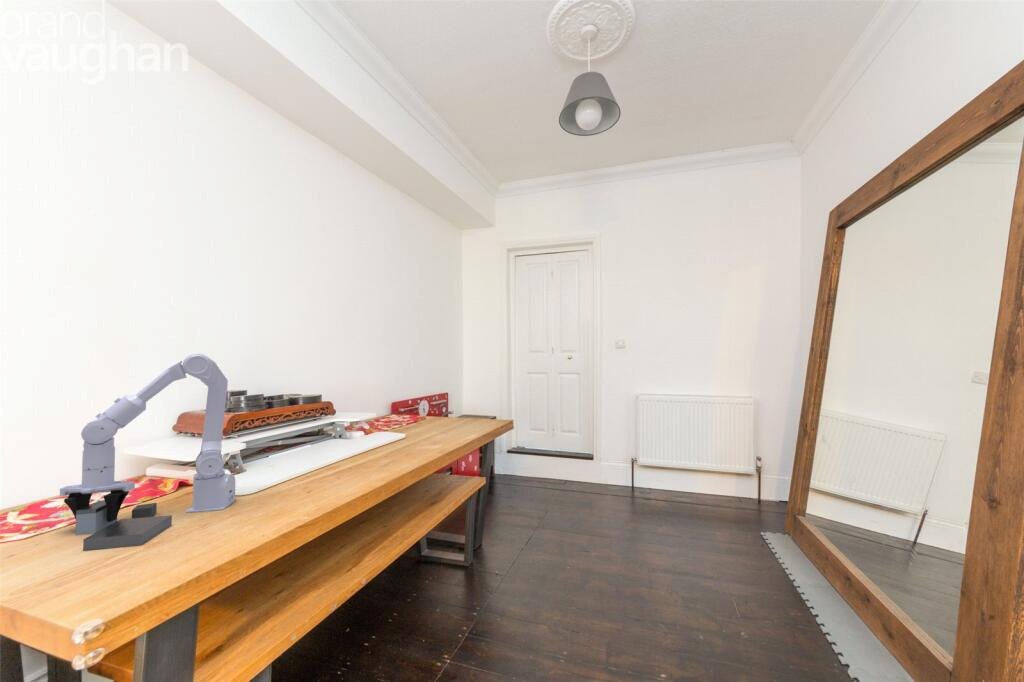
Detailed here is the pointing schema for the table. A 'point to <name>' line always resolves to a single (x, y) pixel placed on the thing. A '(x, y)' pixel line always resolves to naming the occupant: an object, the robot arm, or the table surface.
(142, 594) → the table surface
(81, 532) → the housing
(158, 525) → the stand
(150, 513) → the rubber block
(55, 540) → the table surface
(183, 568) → the table surface
